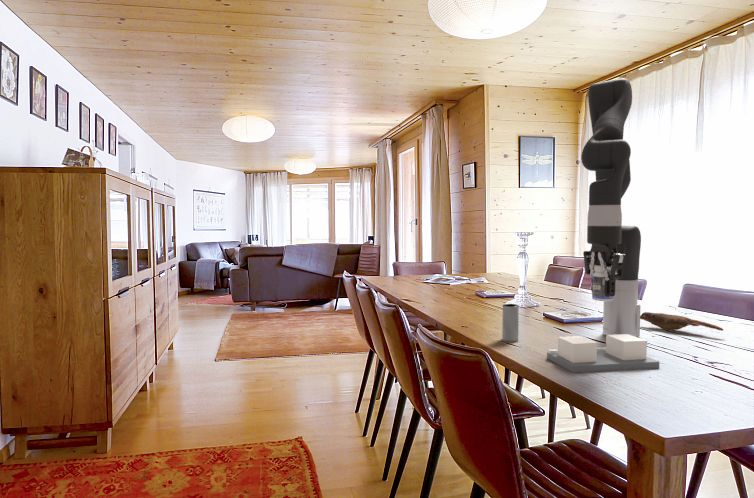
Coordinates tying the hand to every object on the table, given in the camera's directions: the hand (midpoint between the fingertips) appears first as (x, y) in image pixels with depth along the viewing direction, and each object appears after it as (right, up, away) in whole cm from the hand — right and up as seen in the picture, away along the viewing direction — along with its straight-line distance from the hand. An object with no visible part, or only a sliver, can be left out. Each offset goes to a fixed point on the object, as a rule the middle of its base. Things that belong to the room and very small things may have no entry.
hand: (602, 294), depth 120 cm
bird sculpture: (+39, -15, +35) cm, 55 cm away
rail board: (0, -17, +1) cm, 17 cm away
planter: (-16, -16, +25) cm, 33 cm away
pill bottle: (0, -2, 0) cm, 2 cm away
